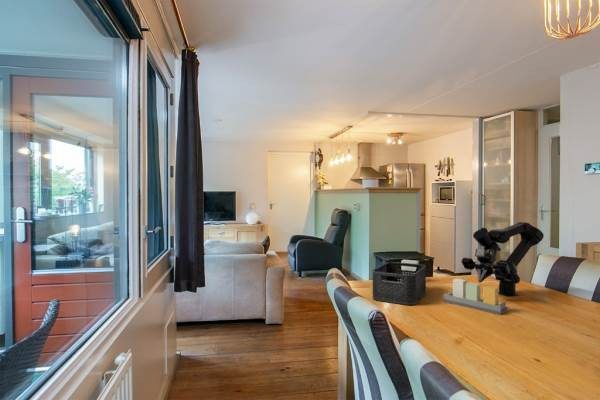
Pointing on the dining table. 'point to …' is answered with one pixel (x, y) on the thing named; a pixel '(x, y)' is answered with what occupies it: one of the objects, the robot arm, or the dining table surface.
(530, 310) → the dining table surface
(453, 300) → the grey divided tray
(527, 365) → the dining table surface
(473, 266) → the robot arm
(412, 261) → the ink box
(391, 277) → the storage bin
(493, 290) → the orange block
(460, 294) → the white rectangular block
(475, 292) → the pale green tall block
